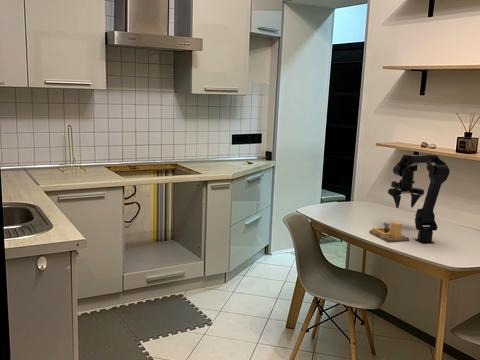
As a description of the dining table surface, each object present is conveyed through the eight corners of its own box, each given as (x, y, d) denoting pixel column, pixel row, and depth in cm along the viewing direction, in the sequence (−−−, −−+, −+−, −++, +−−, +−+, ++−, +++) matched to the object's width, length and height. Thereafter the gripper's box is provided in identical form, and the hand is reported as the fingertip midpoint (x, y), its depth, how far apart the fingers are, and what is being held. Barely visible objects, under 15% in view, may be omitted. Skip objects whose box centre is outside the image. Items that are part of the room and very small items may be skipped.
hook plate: (409, 241, 231) (410, 229, 229) (388, 242, 227) (389, 230, 226) (389, 231, 245) (390, 220, 244) (369, 232, 242) (370, 221, 241)
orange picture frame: (372, 230, 241) (373, 217, 240) (388, 229, 244) (390, 216, 243) (388, 238, 228) (390, 224, 227) (406, 237, 231) (407, 223, 230)
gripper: (412, 175, 256) (409, 203, 258) (383, 176, 250) (380, 204, 253) (426, 179, 245) (423, 208, 248) (396, 180, 239) (393, 209, 242)
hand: (404, 207), depth 248 cm, fingers open, 9 cm apart
